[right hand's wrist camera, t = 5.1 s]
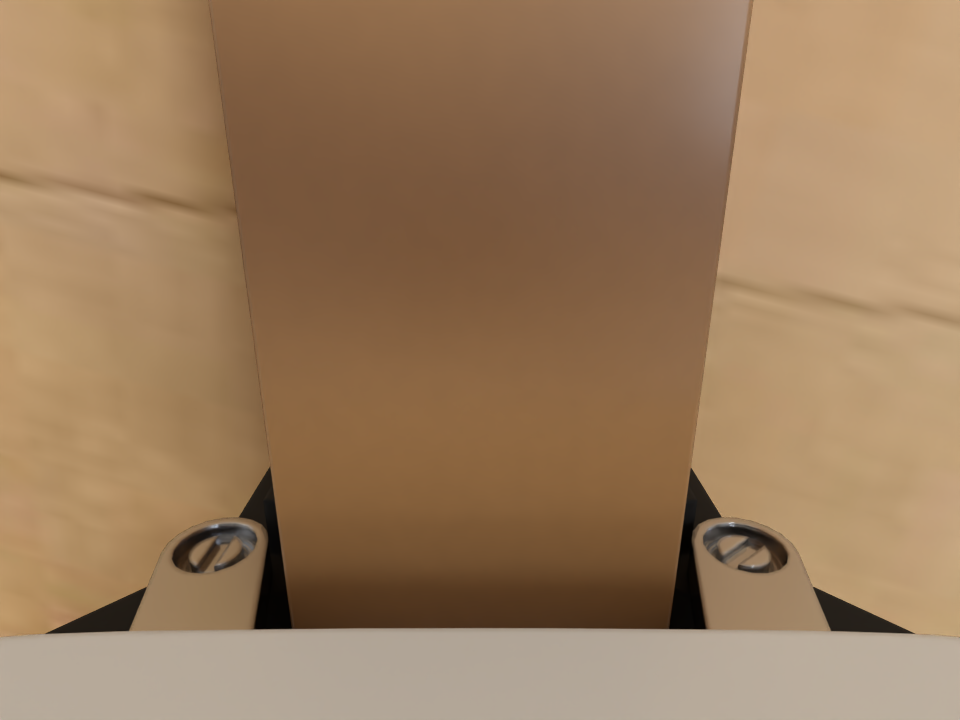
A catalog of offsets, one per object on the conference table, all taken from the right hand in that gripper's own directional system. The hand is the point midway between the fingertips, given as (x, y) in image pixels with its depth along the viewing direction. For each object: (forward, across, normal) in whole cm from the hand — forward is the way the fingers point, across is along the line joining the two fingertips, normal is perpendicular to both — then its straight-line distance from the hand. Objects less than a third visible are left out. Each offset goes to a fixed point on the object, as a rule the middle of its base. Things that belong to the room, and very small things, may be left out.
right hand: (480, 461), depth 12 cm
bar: (+3, 0, -29) cm, 29 cm away
